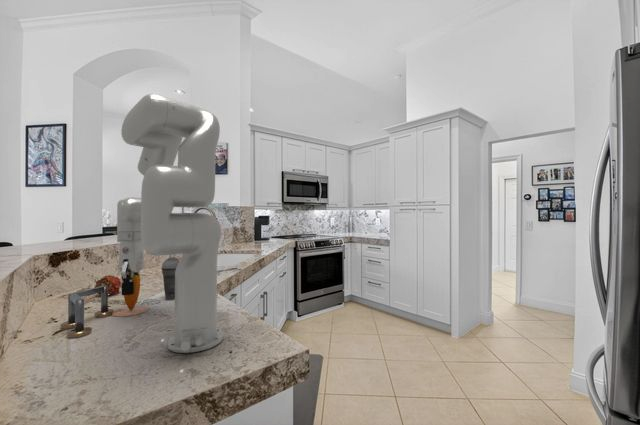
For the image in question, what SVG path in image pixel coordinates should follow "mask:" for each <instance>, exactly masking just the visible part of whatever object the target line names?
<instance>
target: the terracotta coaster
mask: <svg viewBox="0 0 640 425" xmlns="http://www.w3.org/2000/svg"><path fill="white" fill-rule="evenodd" d="M149 309H150V308H149V305H143V304H142V305H141V304H135V306H134V308H133V309H132V310H130V309H129V308H128V306H123V307H121V308H117V309H114V312H113V313H112V315H111V316H112V317H117V318H125V317H126V318H127V317H133V316H137V315H142V314H144V313H146V312H148V311H149Z"/></svg>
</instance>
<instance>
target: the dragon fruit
mask: <svg viewBox="0 0 640 425" xmlns="http://www.w3.org/2000/svg"><path fill="white" fill-rule="evenodd" d="M104 285H107V286H108V294H111V295H112V294H116V293H117V294H118V293H119V292H120V287H122V282H121V279H120V278H119V277H118V276H115V275H112V274H108V275H104V276H103V277H101V278H100V279H98V280H97V281H95V285H94V287H93V288H96V287H100V286H104ZM97 294H98V295H100V294H101V292H98V293H97Z"/></svg>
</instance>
